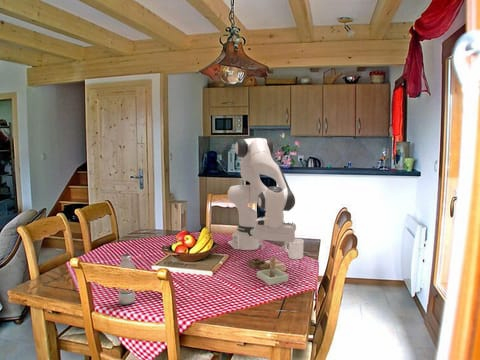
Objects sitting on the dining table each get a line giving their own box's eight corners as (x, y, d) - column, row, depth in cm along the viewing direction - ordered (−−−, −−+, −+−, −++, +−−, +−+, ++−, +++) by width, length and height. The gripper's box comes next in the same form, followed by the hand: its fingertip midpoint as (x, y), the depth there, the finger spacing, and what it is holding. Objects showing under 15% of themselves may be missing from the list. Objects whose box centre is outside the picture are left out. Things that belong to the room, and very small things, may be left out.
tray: (256, 277, 186) (256, 271, 186) (275, 273, 191) (275, 267, 191) (269, 285, 176) (269, 278, 176) (288, 281, 182) (288, 275, 182)
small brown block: (259, 270, 196) (259, 265, 195) (266, 269, 198) (266, 263, 197) (263, 273, 192) (263, 267, 192) (270, 271, 194) (270, 266, 194)
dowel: (269, 278, 183) (270, 258, 182) (269, 277, 185) (270, 257, 184) (274, 279, 182) (275, 259, 181) (275, 277, 185) (275, 257, 184)
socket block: (248, 266, 202) (248, 259, 201) (257, 264, 204) (258, 257, 204) (254, 270, 196) (254, 262, 196) (263, 268, 199) (264, 260, 199)
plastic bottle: (120, 299, 158) (119, 252, 155) (136, 299, 158) (136, 252, 156) (116, 306, 151) (115, 257, 149) (133, 306, 152) (133, 257, 150)
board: (264, 268, 200) (264, 260, 200) (275, 266, 203) (275, 259, 203) (274, 274, 191) (274, 266, 191) (285, 272, 195) (286, 265, 194)
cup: (296, 260, 213) (297, 243, 212) (280, 255, 221) (281, 238, 220) (305, 257, 218) (306, 240, 217) (289, 253, 227) (290, 236, 226)
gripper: (296, 220, 182) (295, 248, 184) (254, 218, 186) (253, 245, 187) (296, 224, 176) (294, 252, 178) (252, 221, 180) (251, 249, 181)
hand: (273, 249), depth 183 cm, fingers open, 8 cm apart
